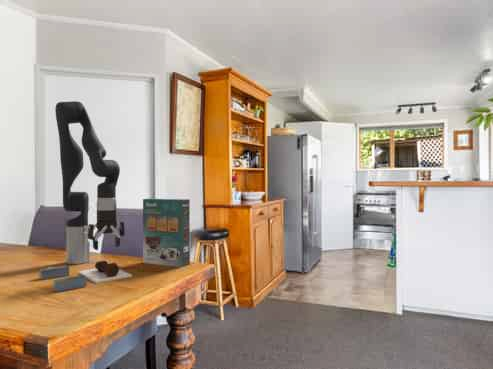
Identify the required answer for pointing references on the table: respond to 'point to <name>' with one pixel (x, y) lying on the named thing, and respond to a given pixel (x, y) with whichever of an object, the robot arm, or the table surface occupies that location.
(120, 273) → the board
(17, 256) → the table surface
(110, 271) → the bolt
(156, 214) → the cake mix box
